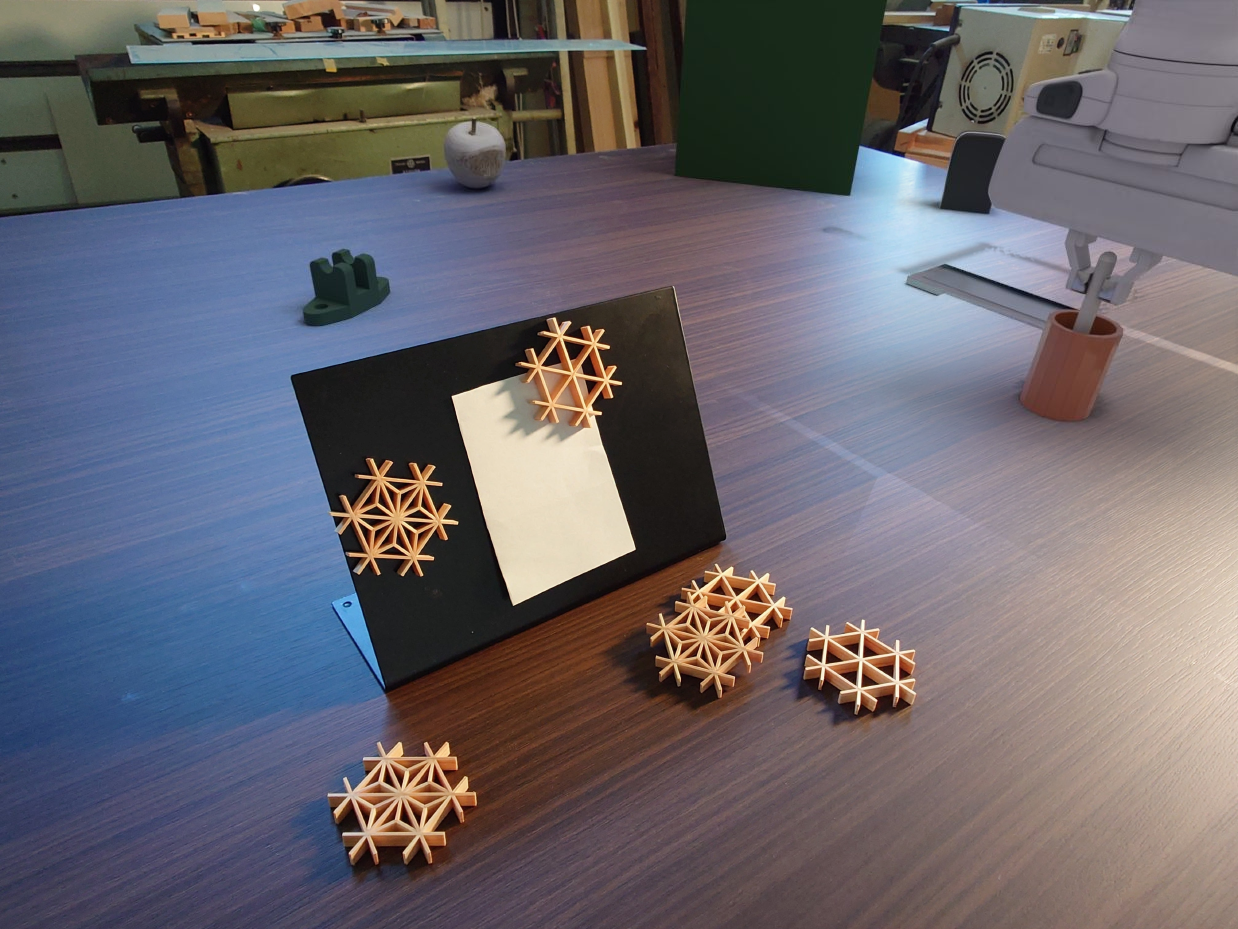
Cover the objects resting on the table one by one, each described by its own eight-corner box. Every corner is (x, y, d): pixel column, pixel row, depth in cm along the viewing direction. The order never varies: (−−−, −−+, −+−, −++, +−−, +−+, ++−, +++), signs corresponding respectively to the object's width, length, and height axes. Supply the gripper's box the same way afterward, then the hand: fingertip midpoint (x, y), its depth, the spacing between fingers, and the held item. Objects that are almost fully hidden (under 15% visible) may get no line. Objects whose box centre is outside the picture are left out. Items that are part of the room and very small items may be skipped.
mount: (369, 284, 87) (362, 238, 84) (402, 292, 85) (396, 245, 82) (292, 320, 79) (281, 270, 76) (326, 330, 77) (317, 279, 74)
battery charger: (986, 216, 114) (1011, 131, 108) (988, 224, 111) (1013, 136, 104) (934, 211, 115) (956, 126, 109) (935, 218, 112) (957, 131, 106)
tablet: (1132, 305, 88) (1135, 296, 88) (1057, 340, 80) (1060, 331, 79) (983, 256, 100) (986, 249, 99) (905, 283, 92) (907, 274, 91)
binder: (673, 176, 127) (689, -68, 109) (692, 155, 138) (710, -69, 121) (850, 195, 121) (898, -60, 103) (854, 171, 133) (898, -61, 115)
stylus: (1064, 404, 68) (1122, 252, 60) (1057, 409, 67) (1115, 255, 60) (1050, 399, 69) (1106, 247, 61) (1043, 403, 68) (1098, 251, 60)
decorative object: (480, 176, 124) (475, 105, 118) (519, 187, 119) (517, 115, 113) (434, 187, 118) (427, 113, 112) (473, 199, 113) (468, 124, 108)
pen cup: (1099, 414, 68) (1136, 327, 63) (1066, 434, 65) (1103, 343, 61) (1038, 389, 71) (1069, 304, 67) (1005, 406, 69) (1035, 319, 64)
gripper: (1367, 128, 50) (1260, 334, 57) (1051, 77, 63) (998, 250, 71) (1333, 139, 46) (1224, 356, 54) (1006, 83, 60) (956, 264, 67)
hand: (1094, 295), depth 62 cm, fingers closed on stylus
